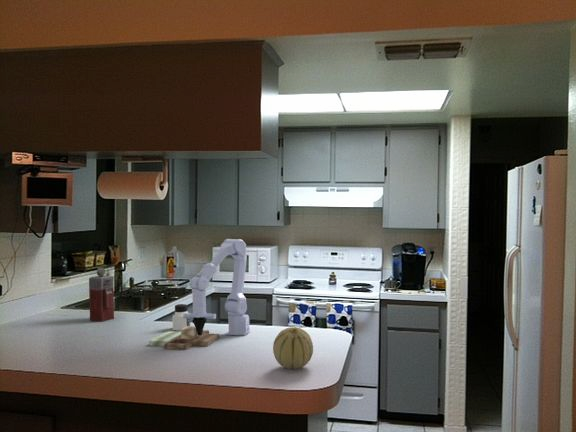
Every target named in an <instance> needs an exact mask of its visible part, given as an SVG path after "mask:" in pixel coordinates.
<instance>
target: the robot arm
mask: <svg viewBox="0 0 576 432" xmlns="http://www.w3.org/2000/svg"><path fill="white" fill-rule="evenodd" d="M246 250H247V244H246V242H245V241H244V240H243V239H240V238H238V239H235V238H234V239H232V238H226V239H224V240H223V242H222V243H221V244H220V248H219V250H217V252H216V254H215V255H214V257H213V258H212V259H211V261H210V262H209V263H206V264H205V263H204V264H203V265H202V268H201V269H200V271H199V272H198V273H197V274H196V276H193V277H192V278H191V280H190V282H189V285H188V286H189V287H190V289H191V294H192V312H187V313H185V314H183V318H190V319H192V321H191V322H192V324H193V325H194V326H195V327H196V330H197V334H198V335H202V332H203V330H204V327H205V324H206V322H207V320H208V319H209V320H216V319H217V313H210V312H209V313H208V312H207V300H206V299H207V296H206V294H207V293H206V291H207V290H206V289H207V288H208V286H209V283H210V280H211V279H212V278H213V276H214V275H215V274H216V272H217V267H218V266H219V265H220V264H221V262H223V260H224V259H226V257H228V256H230V255H231V257H232V258H233V259H234V263H233V273H232V283H231V290H230V291H231V292H230V293H229V295H227V298H226V301H225V303H224V310H225V312H227V316H228V332H226V333H225V335H226V336H230V335H231V336H246V335H247V334H248V333H250V332H251V330H250V316H249V315H248V314H246V312H247V310H248V305H247V298H246V296H245V295H244V286H245V277H246V268H247V259H248V254H247V251H246Z"/></svg>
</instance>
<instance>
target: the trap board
mask: <svg viewBox="0 0 576 432" xmlns="http://www.w3.org/2000/svg"><path fill="white" fill-rule="evenodd" d="M219 339H220V333H210V329H209V330H208V329H207V330H204V329H203V332H202V335H199V336H198V337H196V338H195V339H181V331H173V330H172V331H169V330H167V331H165V332H163V333H161V334H160V335H158V336H155V337H154V338H152V339H150V340H148V346H151V347H164V349H165V350H188V349H190V348H192V347H209V346H211V345H212V344H213V343H215V342H217V341H218V340H219Z"/></svg>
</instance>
